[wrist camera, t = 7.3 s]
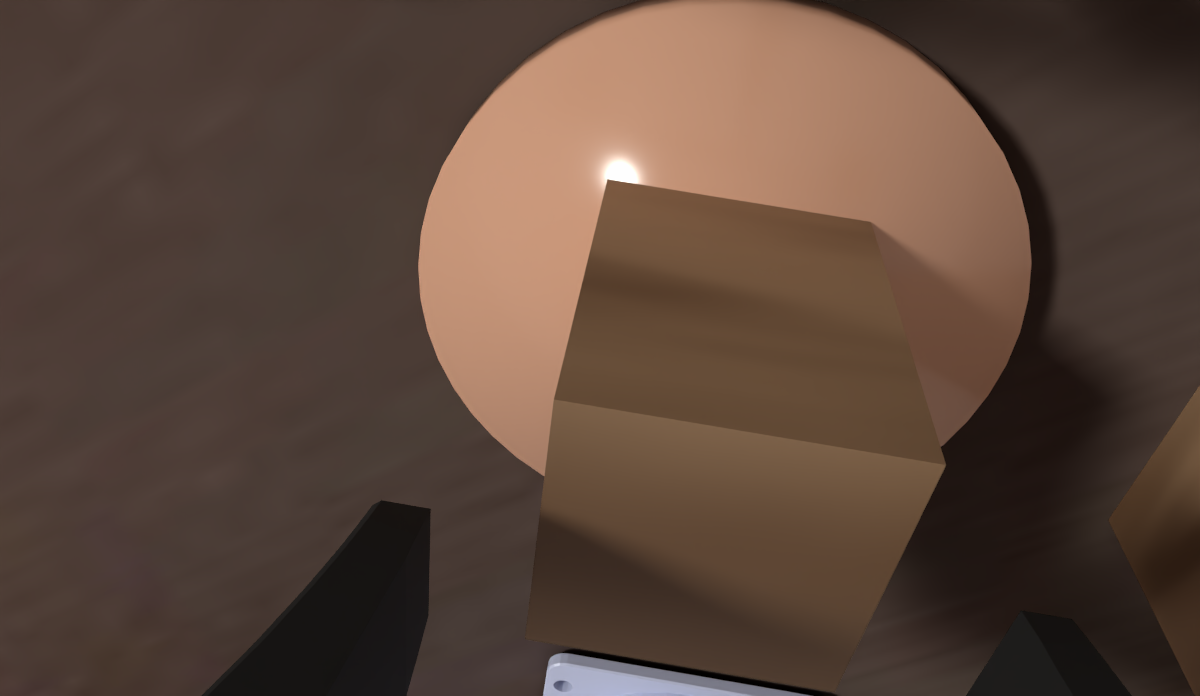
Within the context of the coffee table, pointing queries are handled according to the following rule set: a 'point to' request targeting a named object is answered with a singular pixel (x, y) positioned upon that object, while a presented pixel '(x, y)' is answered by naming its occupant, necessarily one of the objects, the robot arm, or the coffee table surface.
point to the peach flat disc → (718, 188)
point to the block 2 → (1169, 536)
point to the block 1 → (729, 441)
